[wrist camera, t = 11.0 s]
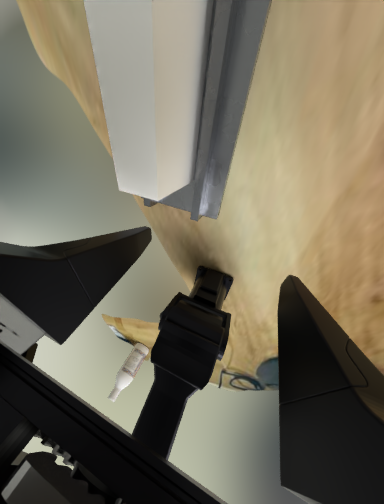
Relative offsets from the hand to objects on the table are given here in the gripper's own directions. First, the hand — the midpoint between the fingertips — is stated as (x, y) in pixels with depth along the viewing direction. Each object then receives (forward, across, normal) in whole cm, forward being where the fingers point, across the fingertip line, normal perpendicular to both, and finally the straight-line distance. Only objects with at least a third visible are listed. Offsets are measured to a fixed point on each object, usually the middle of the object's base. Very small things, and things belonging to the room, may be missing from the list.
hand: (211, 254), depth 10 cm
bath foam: (+12, +22, +77) cm, 81 cm away
